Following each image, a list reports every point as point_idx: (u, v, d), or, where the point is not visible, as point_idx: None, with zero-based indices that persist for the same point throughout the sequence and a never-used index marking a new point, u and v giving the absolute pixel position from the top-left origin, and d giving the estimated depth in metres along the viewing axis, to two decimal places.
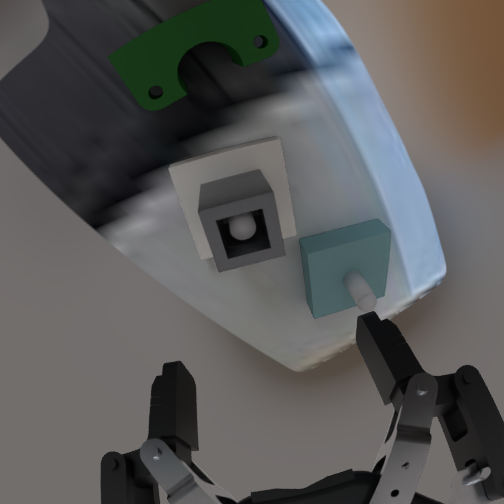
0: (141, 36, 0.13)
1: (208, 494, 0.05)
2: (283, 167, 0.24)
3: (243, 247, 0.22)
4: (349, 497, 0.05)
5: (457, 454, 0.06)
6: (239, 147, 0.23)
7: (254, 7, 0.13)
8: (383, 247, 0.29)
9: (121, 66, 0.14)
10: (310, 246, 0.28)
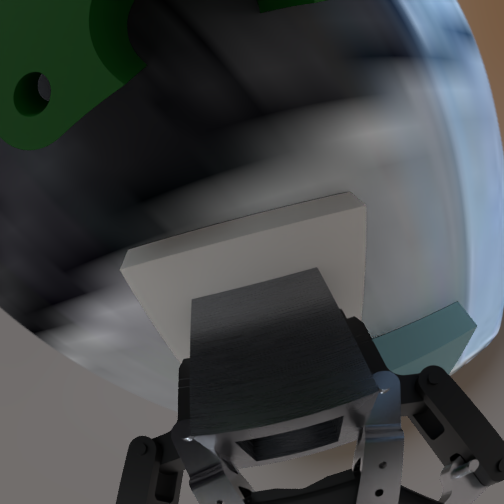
0: None
1: (232, 485, 0.06)
2: (362, 260, 0.12)
3: (284, 433, 0.10)
4: (349, 497, 0.05)
5: (439, 450, 0.06)
6: (277, 223, 0.10)
7: None
8: (461, 345, 0.16)
9: None
10: None
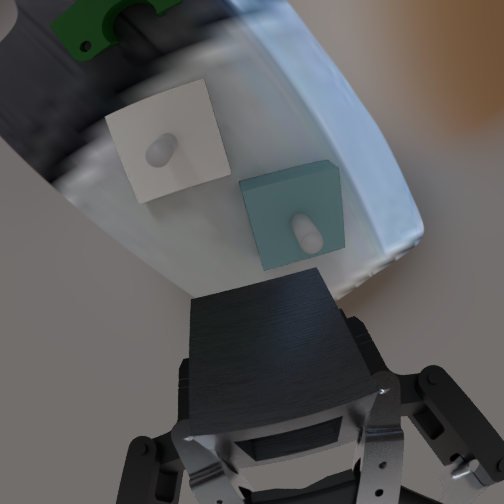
0: (74, 5, 0.11)
1: (232, 485, 0.06)
2: (209, 104, 0.22)
3: (283, 433, 0.10)
4: (349, 497, 0.05)
5: (439, 450, 0.06)
6: None
7: None
8: (332, 186, 0.27)
9: (59, 30, 0.12)
10: (247, 186, 0.27)
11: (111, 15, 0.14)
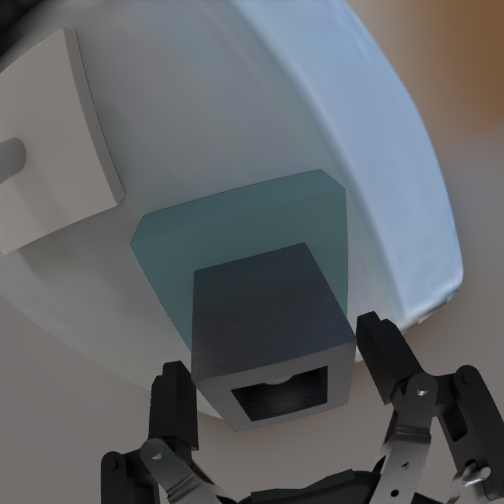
0: None
1: (208, 494, 0.05)
2: (68, 71, 0.08)
3: (277, 395, 0.11)
4: (349, 497, 0.05)
5: (457, 454, 0.06)
6: None
7: None
8: (329, 229, 0.13)
9: None
10: (147, 229, 0.13)
11: None
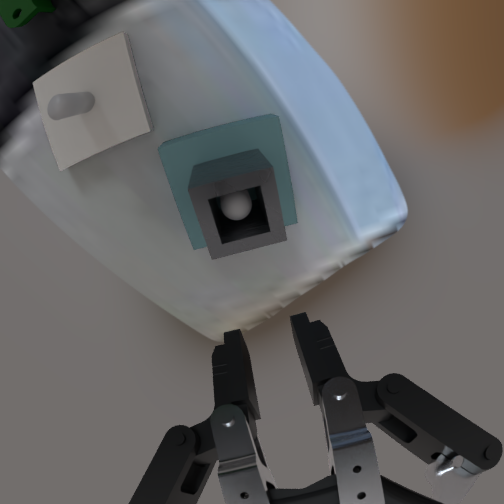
0: None
1: (261, 479, 0.06)
2: (127, 57, 0.17)
3: (239, 231, 0.20)
4: None
5: (417, 451, 0.06)
6: None
7: None
8: (272, 141, 0.21)
9: None
10: (167, 143, 0.21)
11: None
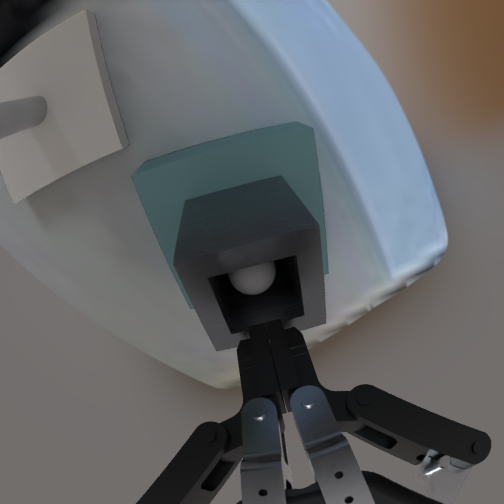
0: None
1: (283, 478, 0.06)
2: (89, 42, 0.10)
3: (256, 311, 0.13)
4: (349, 497, 0.05)
5: (401, 455, 0.07)
6: None
7: None
8: (302, 164, 0.14)
9: None
10: (147, 166, 0.14)
11: None
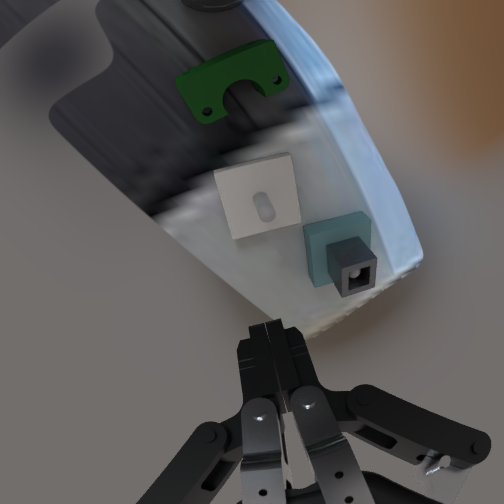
0: (199, 72, 0.23)
1: (283, 478, 0.06)
2: (292, 174, 0.35)
3: (353, 283, 0.38)
4: (349, 497, 0.05)
5: (401, 455, 0.07)
6: (263, 160, 0.34)
7: (273, 56, 0.23)
8: (365, 232, 0.39)
9: (184, 92, 0.24)
10: (311, 230, 0.39)
11: None
